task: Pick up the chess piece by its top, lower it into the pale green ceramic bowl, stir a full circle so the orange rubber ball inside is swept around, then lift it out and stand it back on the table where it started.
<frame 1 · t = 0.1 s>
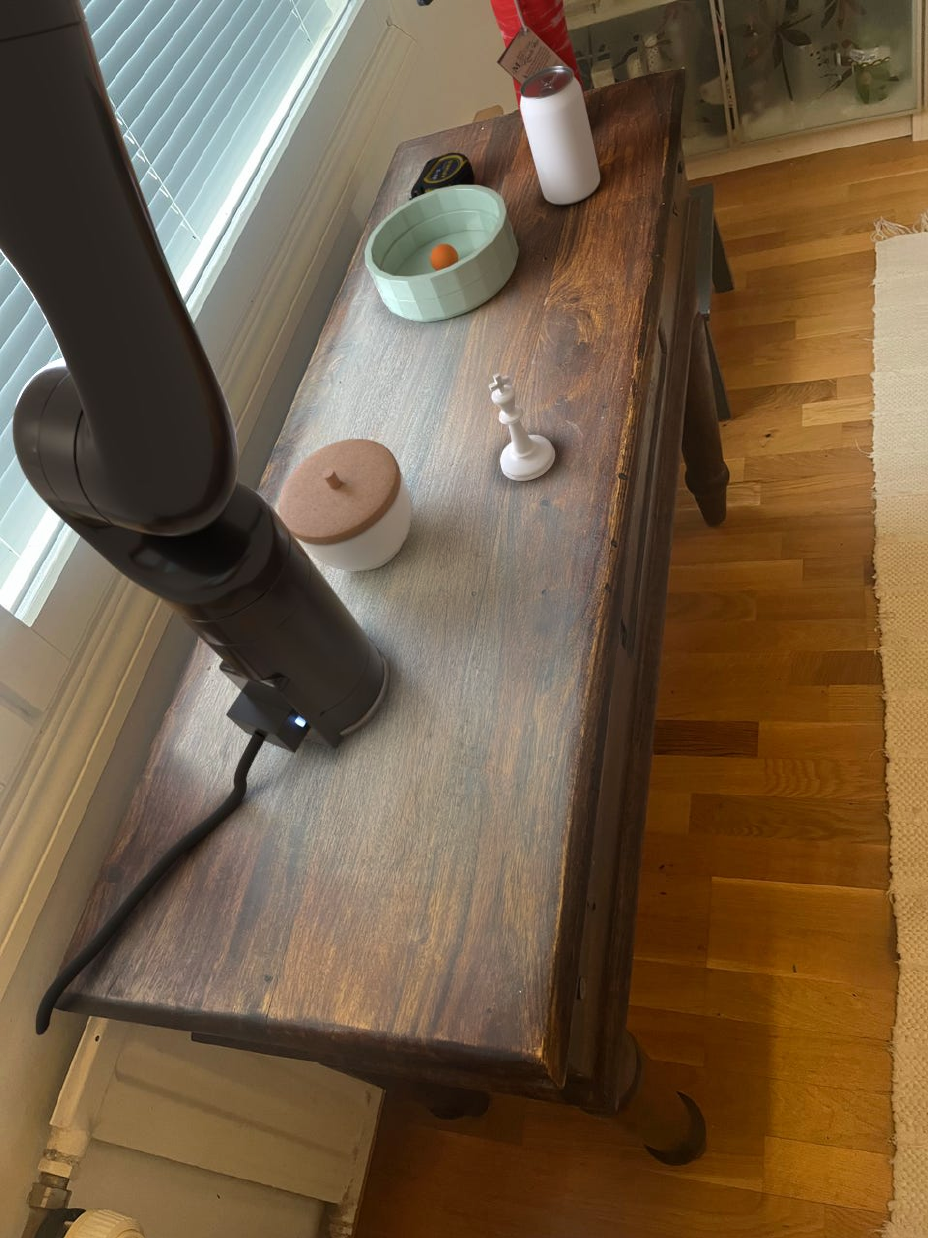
trinket box: (373, 544, 83), on the table
ball: (444, 258, 100), point 2 cm above the table, touching bowl
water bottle: (558, 142, 110), on the table
bowl: (450, 274, 101), on the table
can: (572, 190, 103), on the table
chess piece: (528, 461, 82), on the table
tape measure: (445, 200, 110), on the table
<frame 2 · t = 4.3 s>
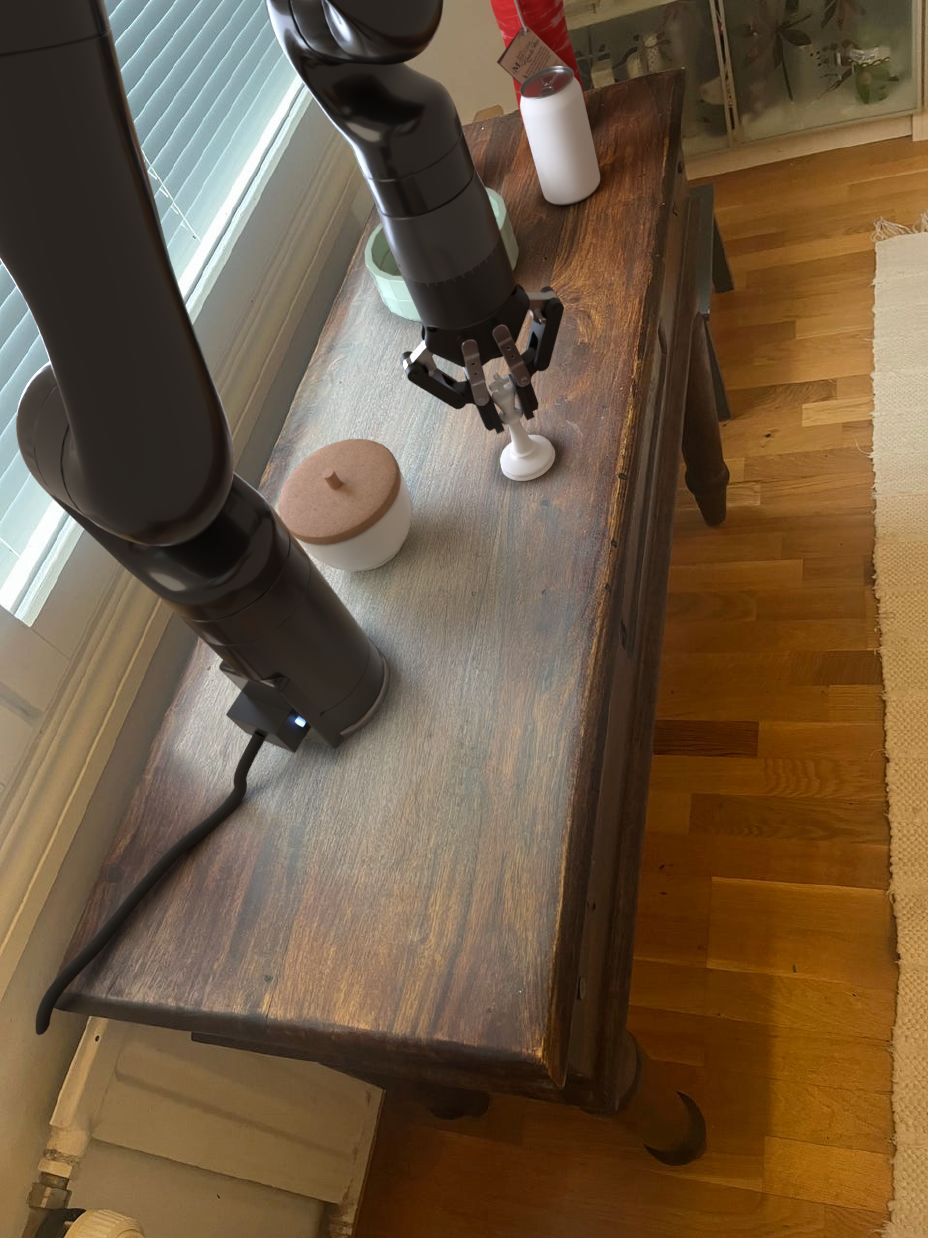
hand: (513, 419, 78), 5 cm above the table, tool pointing down, fingers closed on chess piece
chess piece: (528, 461, 82), on the table, touching gripper
everything else where it was.
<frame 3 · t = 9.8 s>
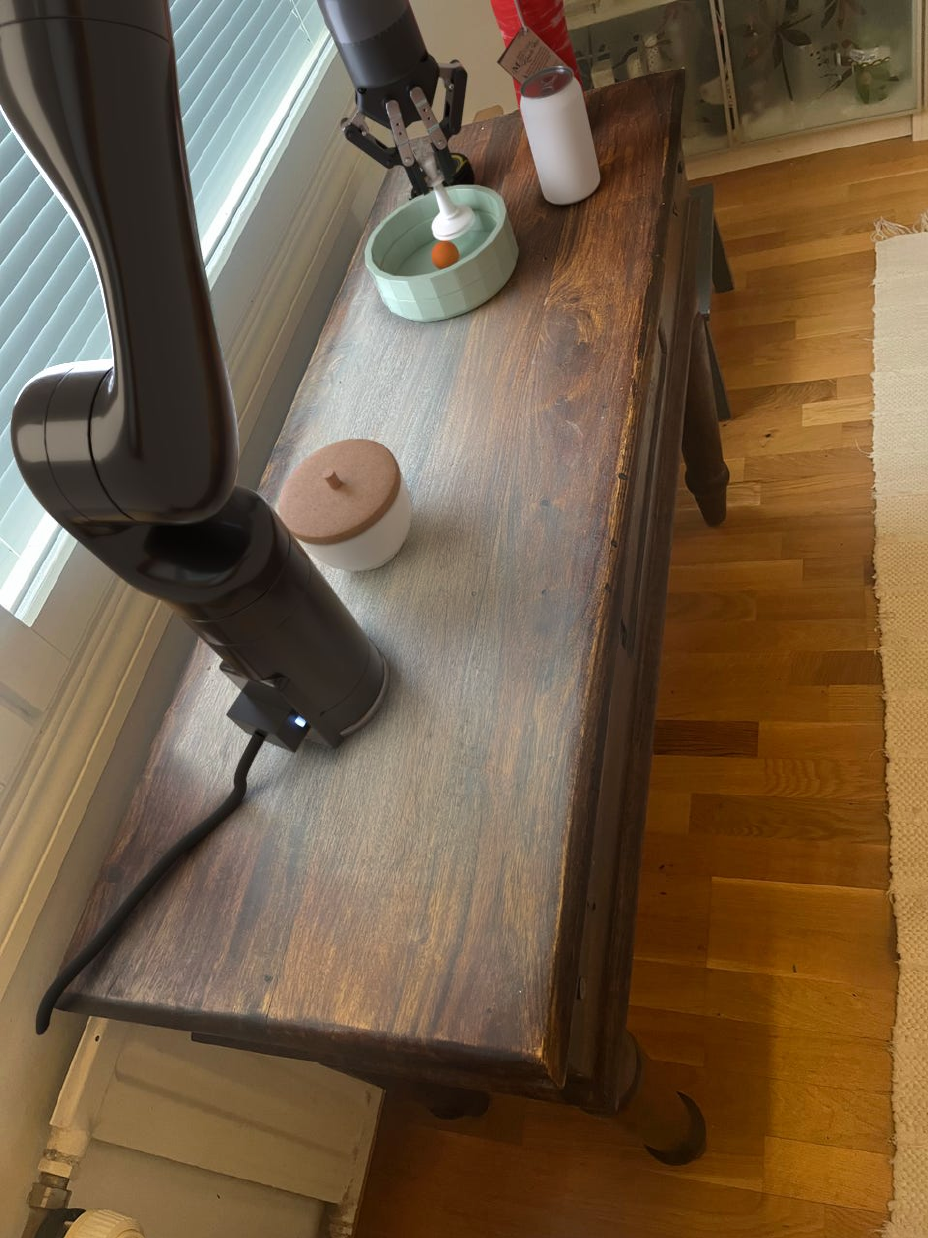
hand: (437, 183, 96), 8 cm above the table, tool pointing down, fingers closed on chess piece
ball: (445, 255, 100), point 2 cm above the table, tilted 22°, touching bowl, chess piece
chess piece: (455, 226, 100), point 3 cm above the table, touching ball, gripper
everything else where it was.
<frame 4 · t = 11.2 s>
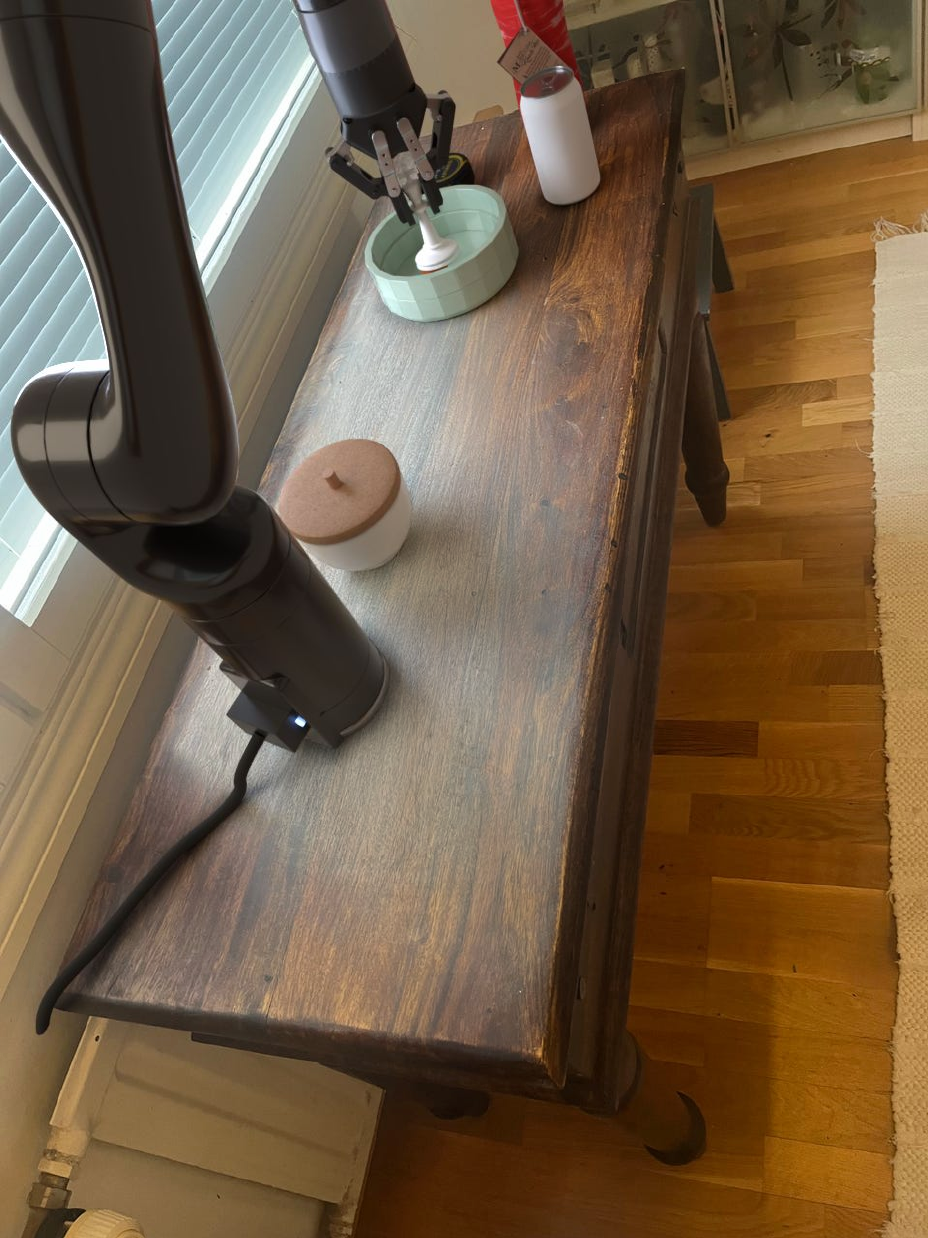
hand: (423, 215, 94), 8 cm above the table, tool pointing down, fingers closed on chess piece
ball: (435, 273, 99), point 2 cm above the table, tilted 59°, touching bowl, chess piece
chess piece: (439, 259, 98), point 3 cm above the table, touching ball, gripper
everything else where it was.
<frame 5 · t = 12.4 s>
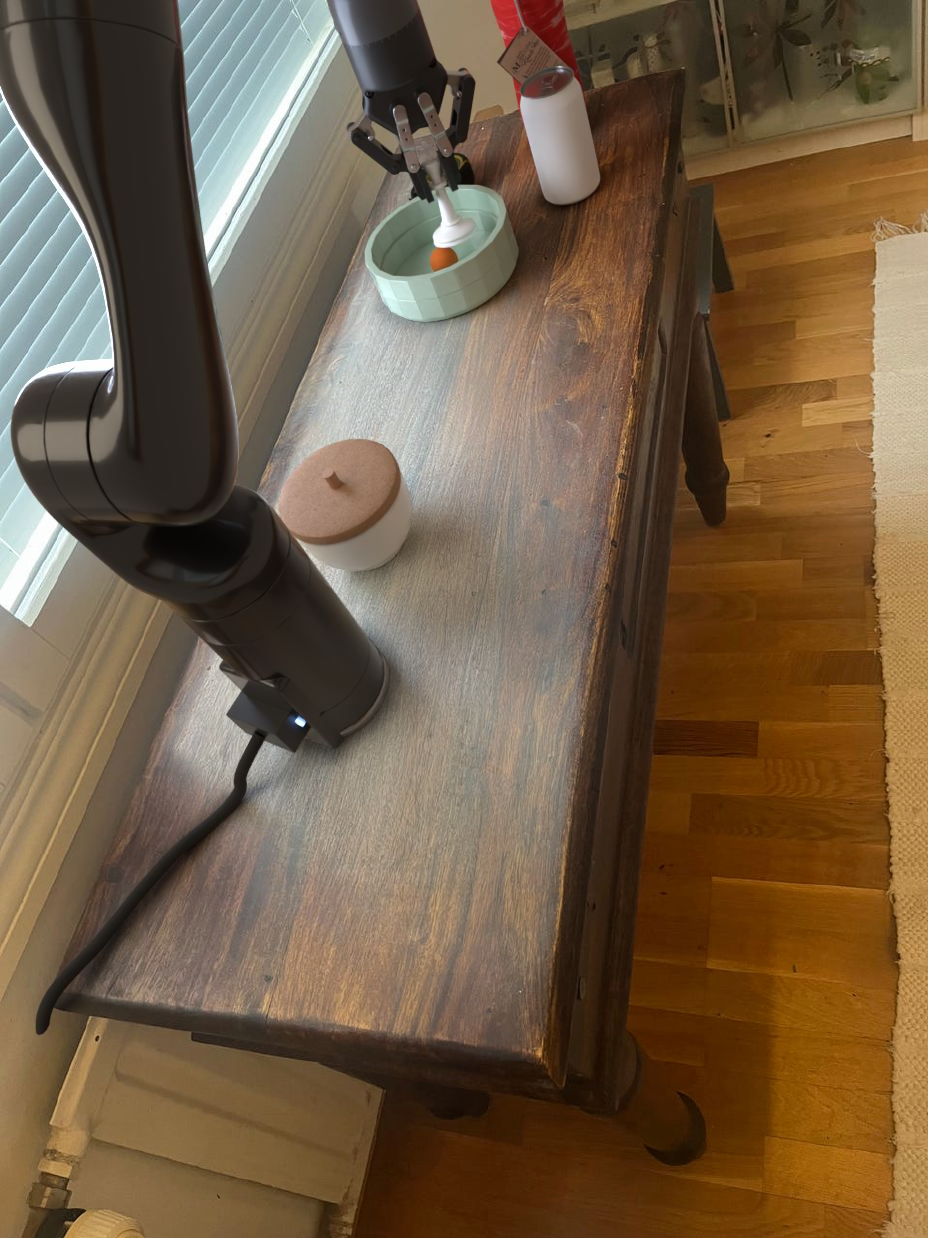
hand: (441, 192, 96), 8 cm above the table, tool pointing down, fingers closed on chess piece
ball: (444, 260, 99), point 2 cm above the table, tilted 44°, touching bowl
chess piece: (456, 237, 99), point 3 cm above the table, touching gripper
everything else where it was.
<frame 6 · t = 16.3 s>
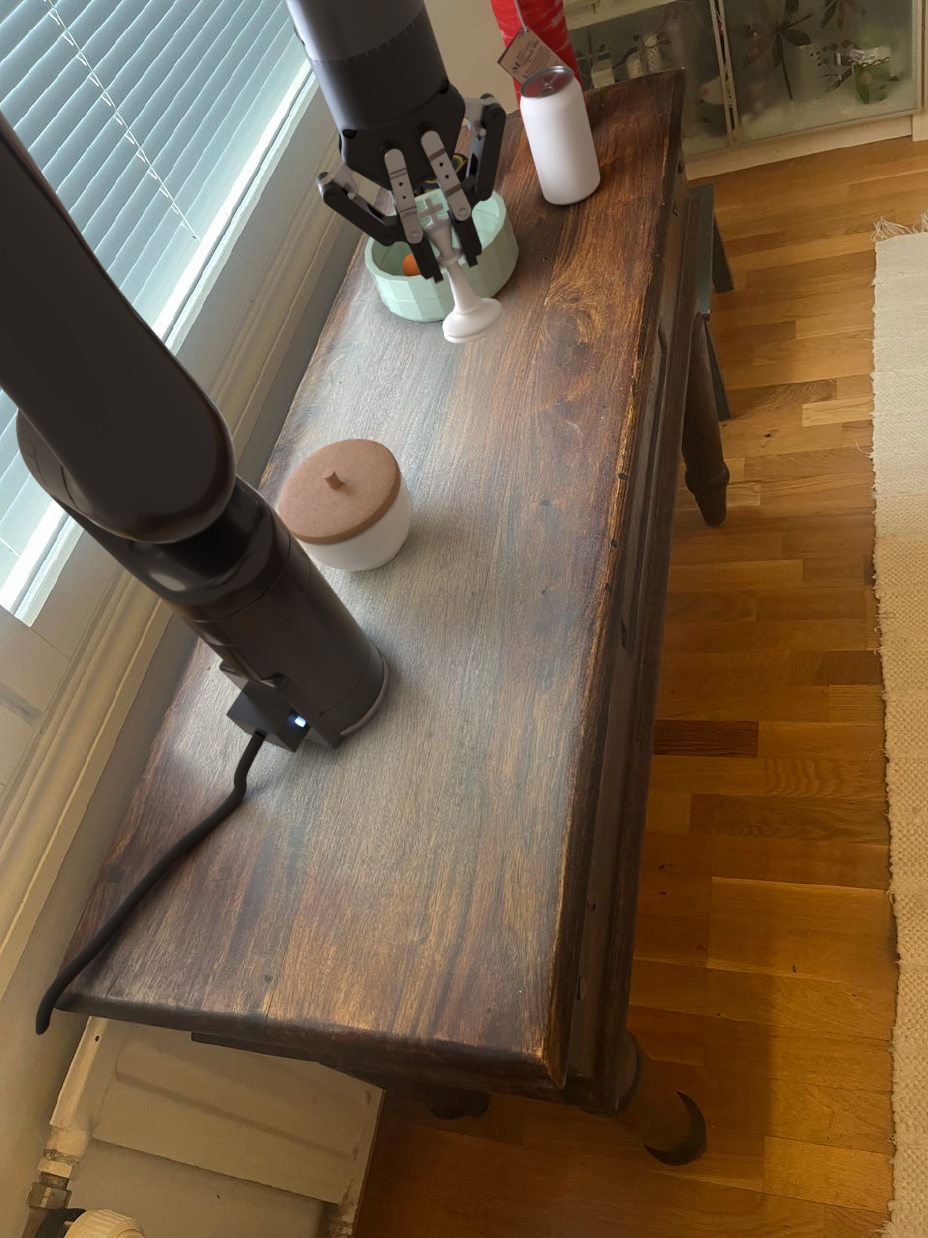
hand: (454, 267, 68), 20 cm above the table, tool pointing down, fingers closed on chess piece
ball: (416, 266, 100), point 2 cm above the table, tilted 134°, touching bowl
chess piece: (475, 326, 71), point 15 cm above the table, touching gripper
everything else where it was.
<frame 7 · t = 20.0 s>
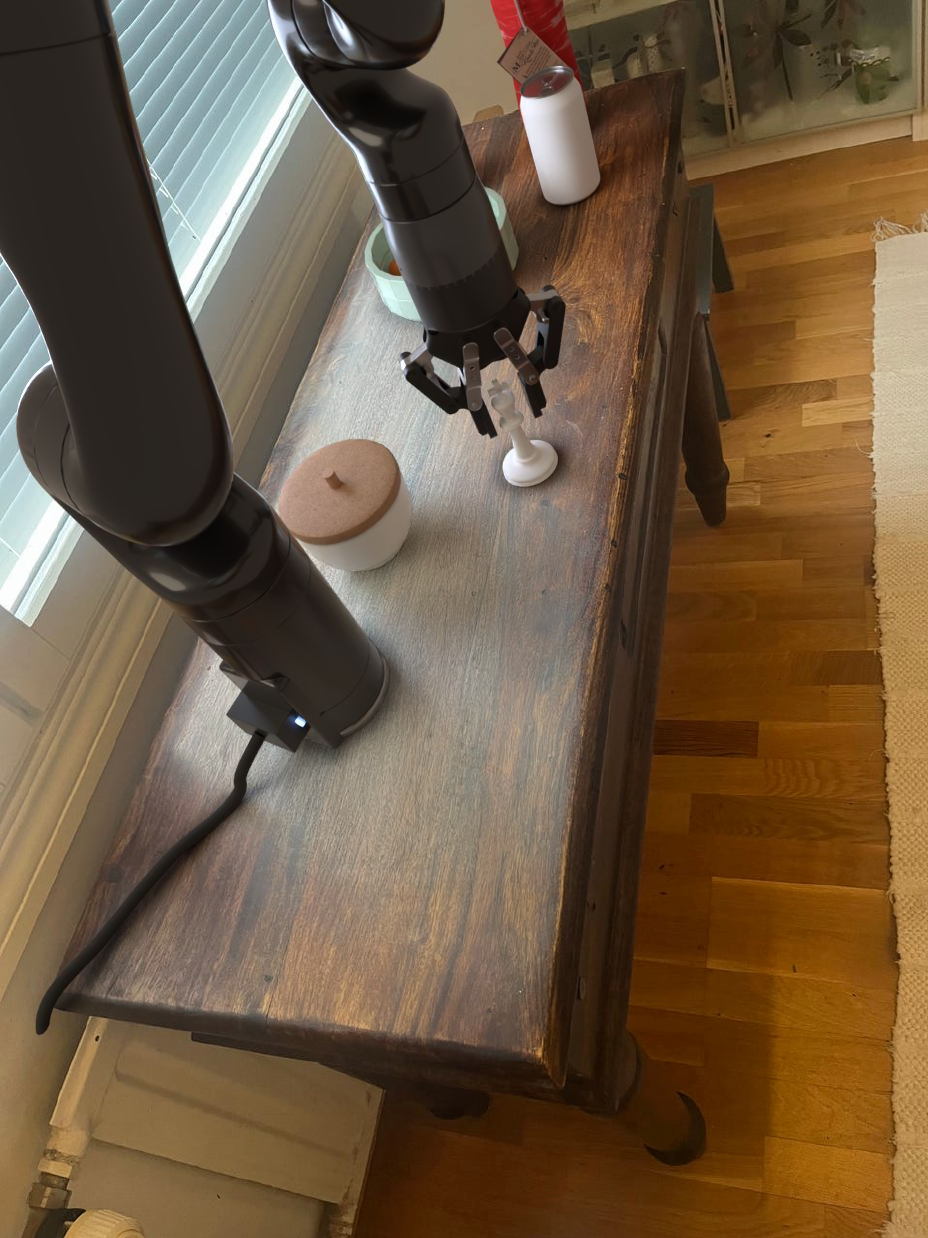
hand: (513, 420, 78), 5 cm above the table, tool pointing down, fingers open, 3 cm apart
ball: (402, 269, 101), point 2 cm above the table, tilted 133°, touching bowl
chess piece: (531, 466, 82), on the table
everything else where it was.
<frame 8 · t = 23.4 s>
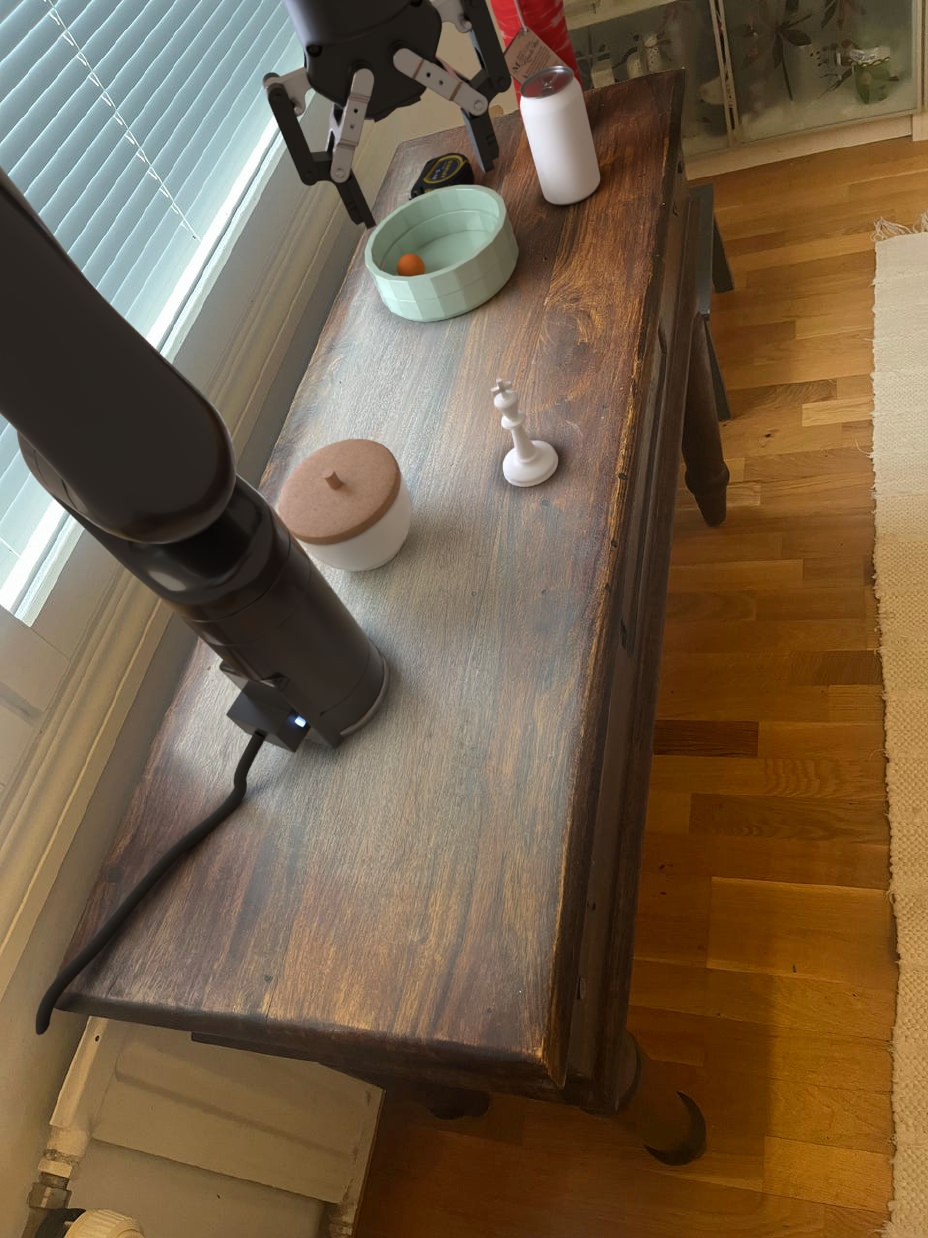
hand: (428, 194, 62), 26 cm above the table, tool pointing down, fingers open, 8 cm apart
ball: (410, 268, 101), point 2 cm above the table, tilted 141°, touching bowl
everything else where it was.
at the end: ball moved 3.8 cm from its start; ball inside the target area in the bowl (3.8 cm from its centre), point 2.1 cm above the bowl's base; chess piece inside the target area (0.8 cm from its centre), on the table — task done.
